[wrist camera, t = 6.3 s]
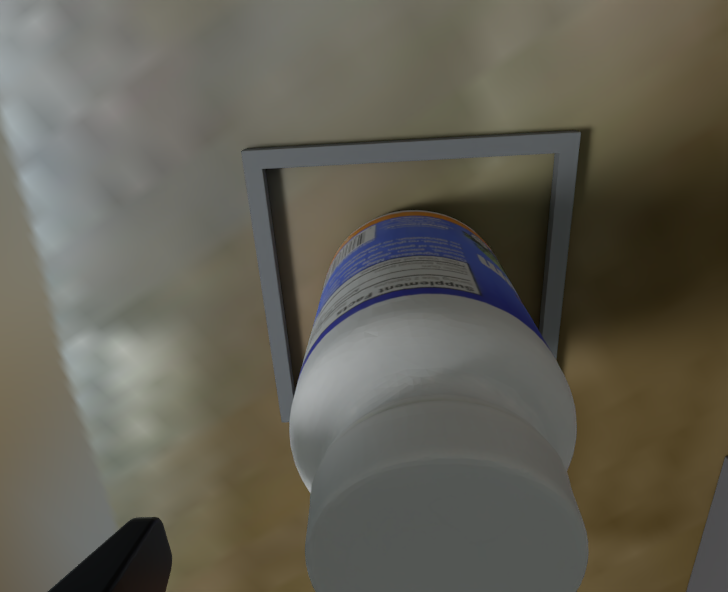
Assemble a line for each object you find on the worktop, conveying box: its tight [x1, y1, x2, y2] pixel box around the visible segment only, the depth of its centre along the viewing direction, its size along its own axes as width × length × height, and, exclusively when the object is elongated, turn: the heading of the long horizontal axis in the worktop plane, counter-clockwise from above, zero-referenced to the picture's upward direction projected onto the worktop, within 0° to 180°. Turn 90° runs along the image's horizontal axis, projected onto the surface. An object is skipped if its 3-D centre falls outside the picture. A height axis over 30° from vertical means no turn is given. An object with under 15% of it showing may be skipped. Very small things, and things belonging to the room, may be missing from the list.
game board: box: [241, 130, 581, 422], centre depth 21 cm, size 9×32×1 cm, turn 3°
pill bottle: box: [289, 210, 588, 592], centre depth 12 cm, size 5×5×10 cm
